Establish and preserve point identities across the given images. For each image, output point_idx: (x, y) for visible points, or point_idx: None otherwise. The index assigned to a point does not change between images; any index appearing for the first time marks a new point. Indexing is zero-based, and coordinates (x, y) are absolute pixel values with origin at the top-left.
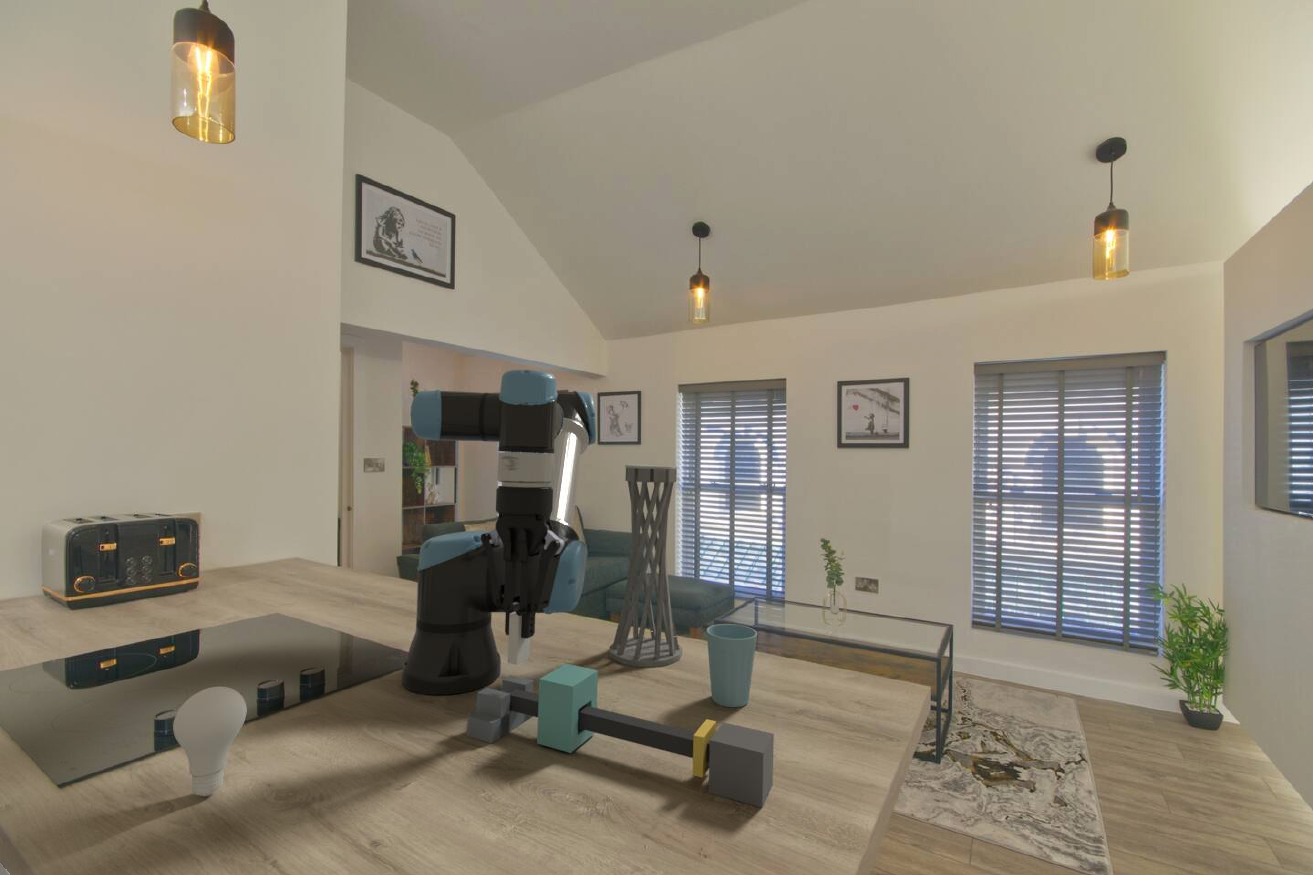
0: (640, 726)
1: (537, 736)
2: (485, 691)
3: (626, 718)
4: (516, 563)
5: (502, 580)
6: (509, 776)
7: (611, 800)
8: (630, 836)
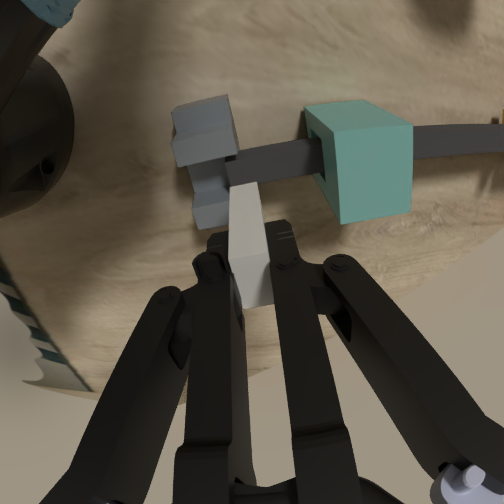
0: (470, 152)
1: (315, 179)
2: (205, 219)
3: (449, 141)
4: (246, 447)
5: (170, 378)
6: (330, 236)
7: (440, 204)
8: (465, 231)
